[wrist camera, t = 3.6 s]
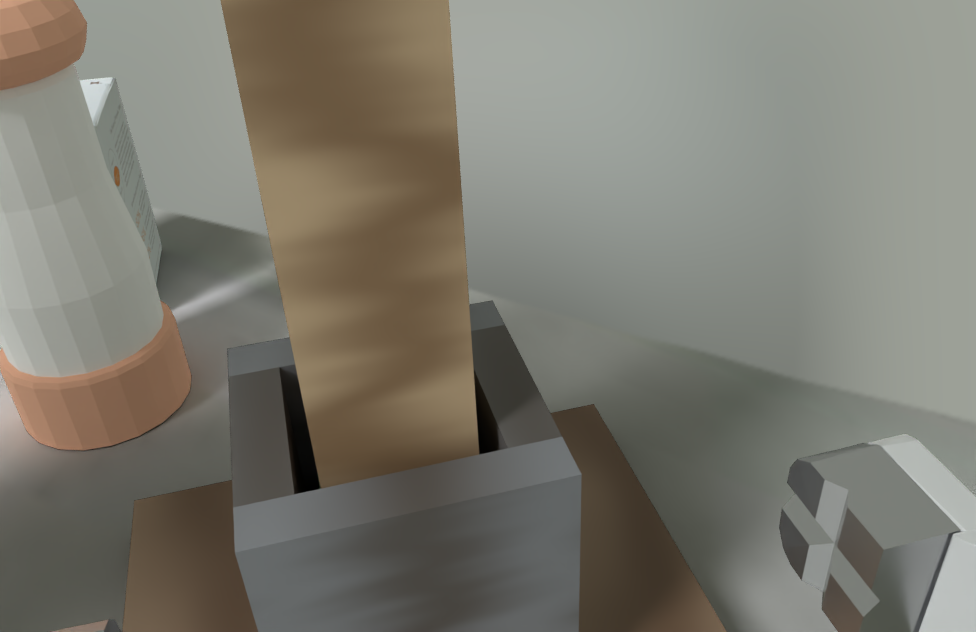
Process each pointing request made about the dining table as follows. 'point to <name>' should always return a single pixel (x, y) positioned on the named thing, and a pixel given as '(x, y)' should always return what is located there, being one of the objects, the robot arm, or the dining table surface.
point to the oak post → (364, 222)
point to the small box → (122, 159)
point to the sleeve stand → (413, 525)
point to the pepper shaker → (72, 254)
